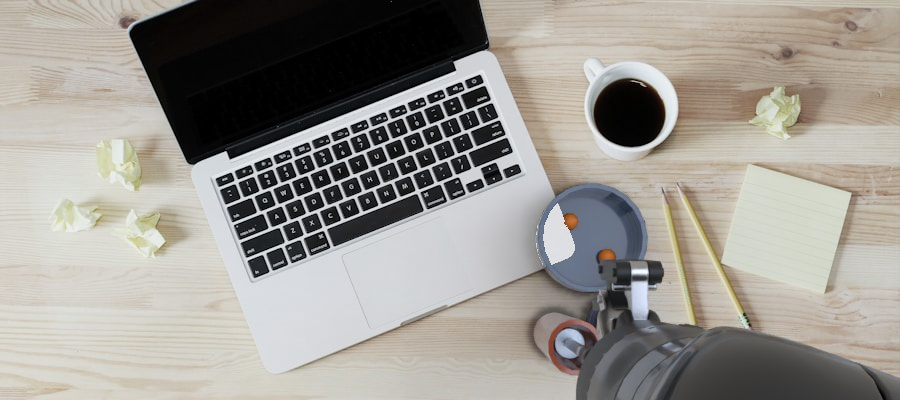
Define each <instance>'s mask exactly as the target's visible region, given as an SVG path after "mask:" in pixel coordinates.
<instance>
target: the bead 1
mask: <svg viewBox="0 0 900 400" xmlns="http://www.w3.org/2000/svg"><path fill="white" fill-rule="evenodd" d="M563 217H564V220H565V222H564V224H565V225H567V226H566V227H568V229H569V230H573V229H575V228H576V227H577V225H578V218H577V216H576V215H575V214H573V213H567V214H565V215H564V216H563Z"/></svg>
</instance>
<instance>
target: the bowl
mask: <svg viewBox="0 0 900 400" xmlns="http://www.w3.org/2000/svg"><path fill="white" fill-rule="evenodd" d="M557 203H558V204H559V206H560V209H561V211H562V214H563V216H564V215H565V214H567V213H573V214H575V215H576V216H577V218H578V225H577V227H576V228H575V229H573V230H570V233H571V235H572V238H573V241H574V244H575V251H574V253H573V255H572V256H571V257H569V258H568V259H565V260H563V261H561V262H558V263H555V264H553V265H551V263H550V261H549V258H548V256H547V254H546V252H545V247H544V241H543V234H544V225H545V222H546V220H547V218H548V215H549V213H550V211H551V210H552V209H553V207H554V206H555V205H556V204H557ZM543 211H544V212H543ZM543 211H542V213H543V214H542V213H541V215H542V216H541V215H540V217H541V219H540V218H539V219H540V221H539V220H538V222H539V223H538V222H537V224H538V228H537V227H536V228H537V235H536V243H537V249H538V254H539V257H540V259H541V261H542V263H543V266H544V268H543V269H544V270H545V272H546V273H547V274H548V275H549V276H550V278H551V279H552V280H554V281H555V282H556V283H558V284H559V285H561V286H563V287H565V288H567V289H570V290H573V291H577V292H581V293H599V290H600V289H606V288H607V281H604V280H601V278H600V274H598V265H600V261H599V258H598V257H599V253H600V252H601V251H602V250H604V249H611V250H612V251H614V253H615V255H616V259H643V260H645V256H646V254H647V248H648V239H649V235H648V229H647V224H646V221H645V218H644V216H643V215H642V212H641V210H640V208H639V207H638V205H637V204H636V203H634V201H633V200H632V199H631V198H630V197H629V196H628V195H626V194H624V193H623V192H622V191H620V190H618V189H617V188H615V187H612V186H609V185H605V184H601V183H581V184H578V185H574V186H571V187H569V188H567V189H565V190H563V191H561V192H560V193H559V194H558V195H556V196H555V197H554V198H552V200H551V202H550V203H549V204H548V205H547V206H546V207H545V208H544V210H543ZM543 266H542V267H543Z"/></svg>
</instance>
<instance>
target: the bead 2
mask: <svg viewBox="0 0 900 400" xmlns="http://www.w3.org/2000/svg"><path fill="white" fill-rule="evenodd" d="M598 258H599V261H600V260H614V259H616V255H615V253H614V251H612V250H611V249H604V250H602V251H601V252H600V253H599V257H598Z"/></svg>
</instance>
